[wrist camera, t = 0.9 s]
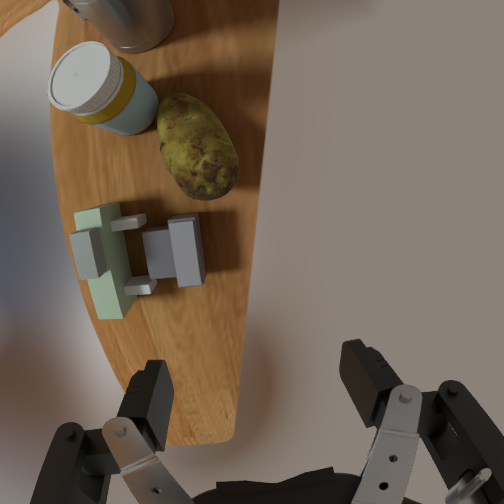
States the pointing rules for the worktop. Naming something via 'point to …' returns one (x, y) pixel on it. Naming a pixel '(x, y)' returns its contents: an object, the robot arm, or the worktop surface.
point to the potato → (196, 147)
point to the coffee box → (74, 9)
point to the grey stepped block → (176, 251)
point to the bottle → (102, 90)
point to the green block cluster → (108, 259)
